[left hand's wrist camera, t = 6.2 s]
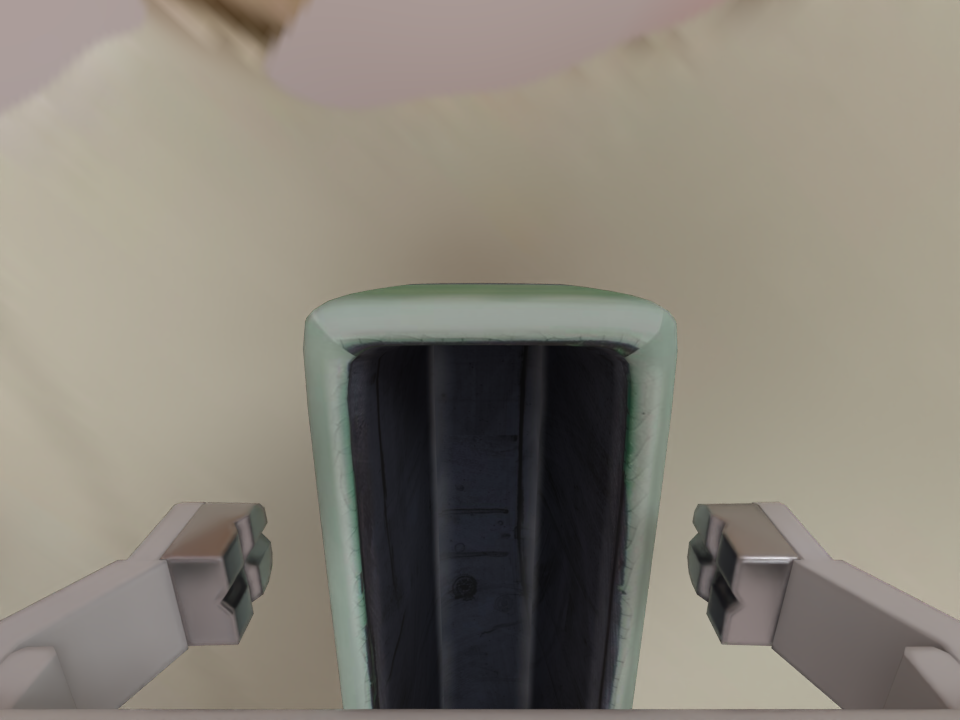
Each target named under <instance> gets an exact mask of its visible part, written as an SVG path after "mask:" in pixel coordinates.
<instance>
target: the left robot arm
mask: <svg viewBox="0 0 960 720" xmlns="http://www.w3.org/2000/svg"><path fill="white" fill-rule="evenodd" d="M266 524H267V518H266V513H265V508H264V507H263V506H262V505H261V504H260V503H219V502H208V503H205V502H181V503H178V504H175V505H174V506H173V507H172V508H171V509H170V511H169V512H168V513H167V514H166V515H165V516H164V517H163V519H162V520H161V521H160V522H159V523H158V524H157V525H156V527H155V528H154V529H153V530H152V531H151V532H150V534H149V535H148V536H147V537H146V538H145V539H144V540H143V542H142V543H141V544H140V545H139V546H138V547H137V548H136V550H135V551H134V552H133V553H132V554H131V555H130V557H129V558H128V559H127V560H117V561H115V562H113V563H111V564H109V565H107V566H105V567H103V568H101V569H99V570H97V571H96V572H94V573H92V574H90V575H88V576H86V577H84V578H82V579H80V580H78V581H76V582H74V583H72V584H70V585H68V586H66V587H65V588H63V589H61V590H59V591H57V592H55V593H53V594H51V595H49V596H47V597H45V598H43V599H41V600H39V601H37V602H35V603H34V604H32V605H30V606H28V607H26V608H24V609H22V610H20V611H18V612H16V613H14V614H12V615H10V616H8V617H6V618H4V619H3V620H1V621H0V720H960V621H959V620H957V619H955V618H953V617H951V616H949V615H948V614H946V613H944V612H942V611H940V610H938V609H936V608H934V607H932V606H930V605H928V604H926V603H924V602H922V601H920V600H919V599H917V598H915V597H913V596H911V595H909V594H907V593H905V592H903V591H901V590H899V589H897V588H895V587H893V586H891V585H890V584H888V583H886V582H884V581H882V580H880V579H878V578H876V577H874V576H872V575H870V574H868V573H866V572H864V571H862V570H861V569H859V568H857V567H855V566H853V565H851V564H849V563H847V562H845V561H843V560H833V559H832V558H831V557H830V555H829V554H828V553H827V552H826V551H825V550H824V548H823V547H822V546H821V545H820V544H819V543H818V542H817V540H816V539H815V538H814V537H813V536H812V535H811V534H810V532H809V531H808V530H807V529H806V528H805V527H804V526H803V524H802V523H801V522H800V521H799V520H798V519H797V517H796V516H795V515H794V514H793V513H792V512H791V511H790V509H789V508H788V507H787V506H786V505H785V504H782V503H780V502H758V503H742V504H698V505H697V507H696V509H695V512H694V517H693V524H694V526H695V528H696V529H697V531H698V534H697V535H696V536H695V537H694V538H693V539H692V540H691V541H690V542H689V548H688V556H687V558H688V570H689V575H690V578H691V582H692V585H693V587H694V589H695V591H696V593H697V595H699V596H700V597H702V598H703V599H704V600H706V601H707V602H708V608H707V613H706V614H707V616H708V618H709V620H710V622H711V624H712V626H713V628H714V630H715V632H716V634H717V636H718V638H719V640H720V642H721V644H725V645H761V646H772V649H773V650H774V651H775V652H777V653H778V654H779V655H780V656H781V657H782V658H784V659H785V660H786V661H787V662H788V663H789V664H791V665H792V666H793V667H794V668H795V669H796V670H798V671H799V672H800V673H801V674H802V675H803V676H805V677H806V678H807V679H808V680H809V681H810V682H812V683H813V684H814V685H815V686H816V687H817V688H819V689H820V690H821V691H822V692H823V693H824V694H825V695H827V696H828V697H829V698H830V699H831V700H832V701H834V702H835V703H836V704H837V705H838V706H839V707H841V708H842V709H118V708H119V707H121V706H122V705H123V704H124V703H125V702H126V701H128V700H129V699H130V698H131V697H132V696H133V695H135V694H136V693H137V692H138V691H139V690H141V689H142V688H143V687H144V686H145V685H146V684H148V683H149V682H150V681H151V680H152V679H153V678H155V677H156V676H157V675H158V674H159V673H160V672H162V671H163V670H164V669H165V668H166V667H167V666H169V665H170V664H171V663H172V662H173V661H174V660H176V659H177V658H178V657H179V656H180V655H181V654H183V653H184V652H185V651H186V650H187V649H188V646H199V645H233V644H239V642H240V640H241V638H242V636H243V634H244V632H245V630H246V628H247V626H248V624H249V622H250V620H251V618H252V616H253V614H254V613H253V608H252V602H253V601H254V600H256V599H257V598H258V597H260V596H261V595H263V593H264V591H265V589H266V587H267V584H268V582H269V578H270V574H271V569H272V547H271V542H270V541H269V540H268V539H267V538H266V537H265V536H264V535H263V534H262V531H263V529H264V528H265V526H266Z"/></svg>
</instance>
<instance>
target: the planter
mask: <svg viewBox="0 0 960 720" xmlns="http://www.w3.org/2000/svg"><path fill="white" fill-rule="evenodd" d="M303 353H304V365H305V378H306V390H307V403H308V413H309V422H310V431H311V440H312V449H313V457H314V466H315V475H316V484H317V493H318V502H319V510H320V519H321V527H322V536H323V544H324V552H325V561H326V569H327V578H328V586H329V594H330V603H331V611H332V620H333V628H334V636H335V645H336V653H337V662H338V670H339V678H340V686H341V694H342V703H343V709H632V705H633V698H634V691H635V683H636V676H637V669H638V661H639V654H640V646H641V639H642V632H643V624H644V617H645V609H646V602H647V594H648V587H649V579H650V572H651V564H652V557H653V550H654V542H655V535H656V527H657V520H658V512H659V504H660V497H661V489H662V481H663V473H664V465H665V458H666V450H667V442H668V434H669V426H670V419H671V411H672V401H673V390H674V380H675V370H676V360H677V328H676V321H675V319H674V318H673V316H672V315H671V314H670V313H669V311H667V310H666V309H664V308H662V307H661V306H659V305H657V304H656V303H654V302H651V301H648V300H645V299H642V298H639V297H635V296H632V295H628V294H623V293H618V292H613V291H606V290H600V289H594V288H587V287H580V286H572V285H562V284H511V283H443V284H410V285H401V286H394V287H387V288H381V289H374V290H368V291H363V292H358V293H353V294H349V295H346V296H342V297H339V298H336V299H333V300H330V301H328V302H326V303H324V304H322V305H321V306H319V307H318V308H316V309H314V310H313V311H312V312H311V313H310V315H309V316H308V317H307V318H306V321H305V331H304V345H303Z"/></svg>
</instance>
